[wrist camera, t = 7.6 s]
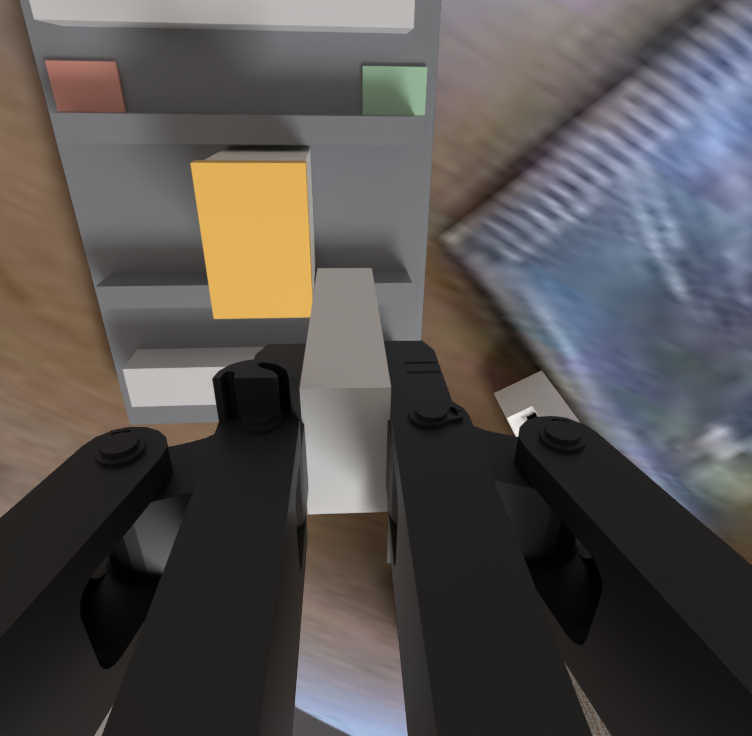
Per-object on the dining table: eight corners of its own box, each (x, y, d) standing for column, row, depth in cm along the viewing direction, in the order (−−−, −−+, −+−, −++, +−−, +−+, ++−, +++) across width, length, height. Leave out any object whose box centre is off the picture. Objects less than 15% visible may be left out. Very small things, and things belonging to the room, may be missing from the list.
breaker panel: (435, -95, 24) (461, -141, 19) (410, 392, 36) (422, 438, 31) (25, -111, 22) (-59, -165, 18) (145, 399, 35) (115, 448, 30)
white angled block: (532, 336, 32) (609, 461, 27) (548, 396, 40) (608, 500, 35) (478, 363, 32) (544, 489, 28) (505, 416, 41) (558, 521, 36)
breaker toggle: (312, 145, 25) (305, 163, 19) (317, 269, 28) (313, 317, 22) (224, 145, 25) (190, 162, 19) (239, 269, 28) (213, 318, 22)
